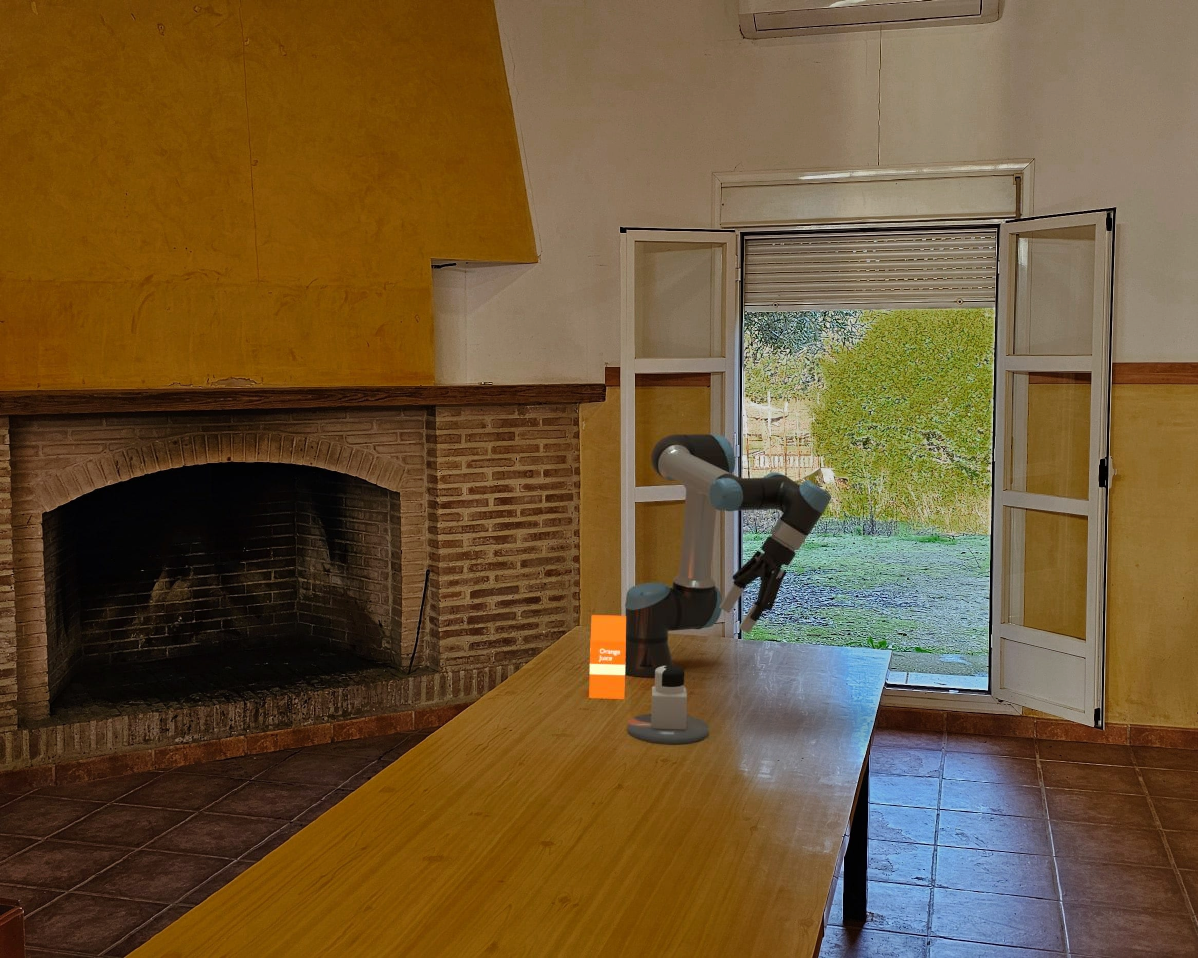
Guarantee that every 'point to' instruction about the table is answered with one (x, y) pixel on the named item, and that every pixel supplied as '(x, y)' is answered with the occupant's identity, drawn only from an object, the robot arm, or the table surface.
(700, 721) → the slate plate
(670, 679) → the container
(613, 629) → the orange juice
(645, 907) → the table surface
